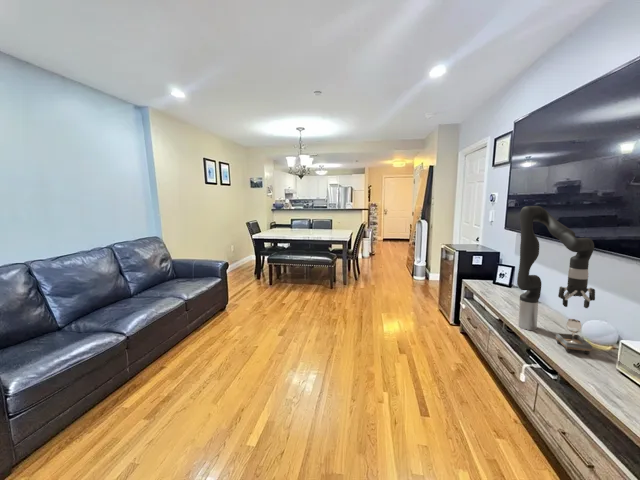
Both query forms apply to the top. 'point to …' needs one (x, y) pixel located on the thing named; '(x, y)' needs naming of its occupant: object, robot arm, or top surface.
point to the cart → (580, 346)
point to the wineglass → (573, 328)
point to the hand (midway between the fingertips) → (575, 307)
